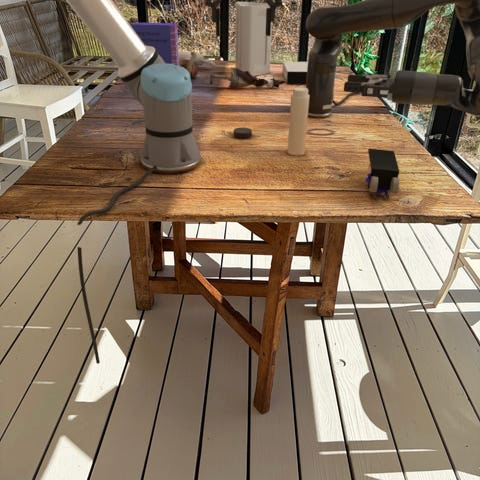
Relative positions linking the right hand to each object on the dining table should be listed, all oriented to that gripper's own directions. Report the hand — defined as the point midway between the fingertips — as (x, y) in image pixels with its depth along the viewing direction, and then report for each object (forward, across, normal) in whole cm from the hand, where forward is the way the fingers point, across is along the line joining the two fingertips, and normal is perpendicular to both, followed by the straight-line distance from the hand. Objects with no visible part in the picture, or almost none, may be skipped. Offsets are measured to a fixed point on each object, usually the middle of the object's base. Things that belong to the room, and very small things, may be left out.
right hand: (346, 82), depth 118 cm
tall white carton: (+49, -94, +20) cm, 108 cm away
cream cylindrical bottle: (+11, 0, +20) cm, 23 cm away
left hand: (+29, -8, -8) cm, 31 cm away
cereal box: (+76, -50, +20) cm, 93 cm away
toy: (+82, -93, +20) cm, 125 cm away
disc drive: (+25, -90, +20) cm, 96 cm away
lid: (+29, -8, +18) cm, 35 cm away
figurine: (+44, -65, +20) cm, 81 cm away
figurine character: (-12, +18, +20) cm, 29 cm away
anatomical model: (+72, -70, +20) cm, 102 cm away
